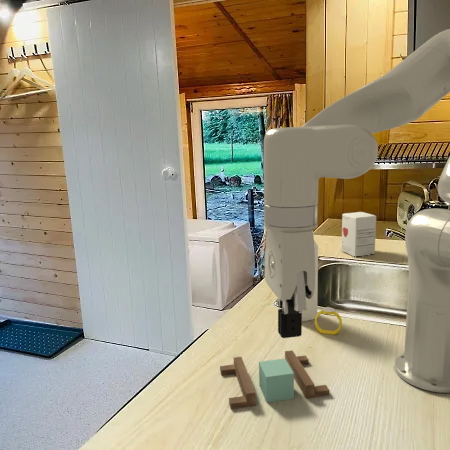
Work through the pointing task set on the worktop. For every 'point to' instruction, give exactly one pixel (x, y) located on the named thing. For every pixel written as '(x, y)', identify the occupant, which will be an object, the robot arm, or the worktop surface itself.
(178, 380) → the worktop surface
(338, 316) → the watch
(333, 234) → the worktop surface
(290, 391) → the block
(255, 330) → the worktop surface
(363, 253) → the supplement box
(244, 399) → the wooden brackets
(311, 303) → the milk
